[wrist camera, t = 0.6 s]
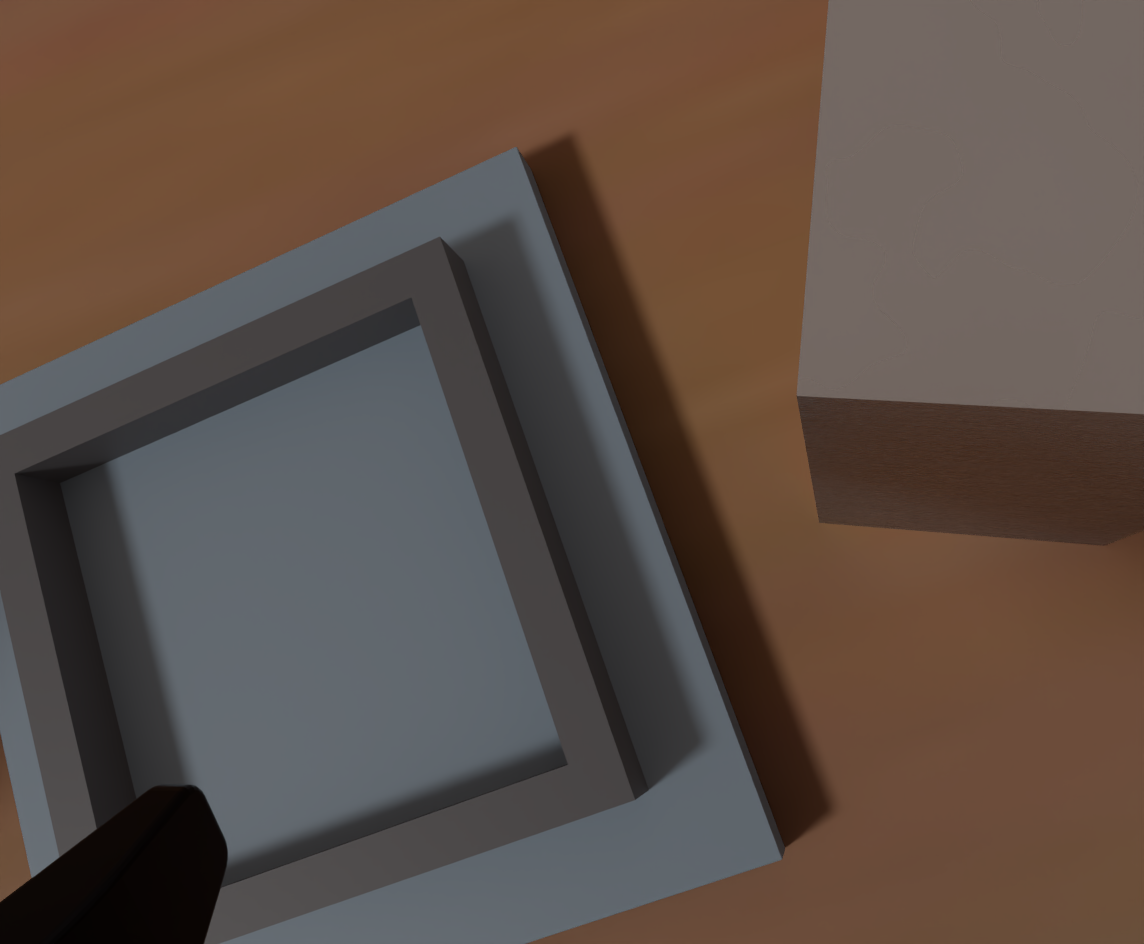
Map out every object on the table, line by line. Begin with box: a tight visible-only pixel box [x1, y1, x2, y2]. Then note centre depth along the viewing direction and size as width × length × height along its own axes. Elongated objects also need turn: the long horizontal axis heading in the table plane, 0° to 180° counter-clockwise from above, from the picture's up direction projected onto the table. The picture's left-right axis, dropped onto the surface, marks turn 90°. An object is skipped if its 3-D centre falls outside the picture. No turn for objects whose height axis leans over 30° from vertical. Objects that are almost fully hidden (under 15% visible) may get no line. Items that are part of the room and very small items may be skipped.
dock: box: [0, 147, 785, 944], centre depth 24 cm, size 16×16×3 cm
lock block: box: [797, 0, 1144, 545], centre depth 17 cm, size 6×6×12 cm
